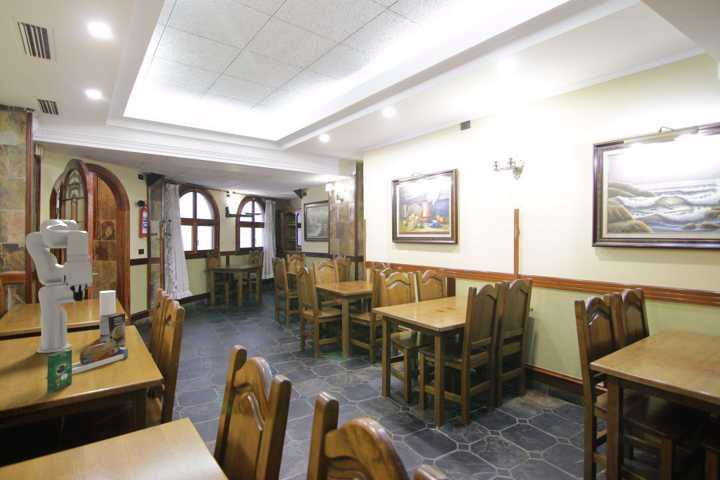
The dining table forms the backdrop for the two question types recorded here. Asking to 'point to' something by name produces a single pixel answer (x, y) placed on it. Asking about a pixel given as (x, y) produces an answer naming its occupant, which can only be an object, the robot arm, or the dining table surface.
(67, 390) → the dining table surface
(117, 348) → the tin
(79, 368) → the guide track
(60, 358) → the coffee box
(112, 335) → the coffee box
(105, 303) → the cylindrical container
